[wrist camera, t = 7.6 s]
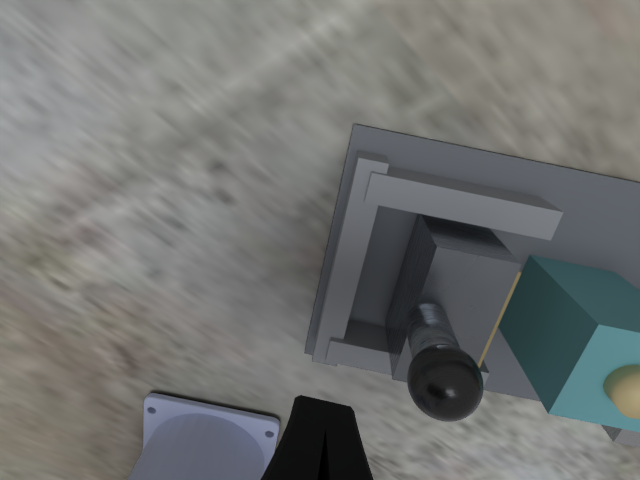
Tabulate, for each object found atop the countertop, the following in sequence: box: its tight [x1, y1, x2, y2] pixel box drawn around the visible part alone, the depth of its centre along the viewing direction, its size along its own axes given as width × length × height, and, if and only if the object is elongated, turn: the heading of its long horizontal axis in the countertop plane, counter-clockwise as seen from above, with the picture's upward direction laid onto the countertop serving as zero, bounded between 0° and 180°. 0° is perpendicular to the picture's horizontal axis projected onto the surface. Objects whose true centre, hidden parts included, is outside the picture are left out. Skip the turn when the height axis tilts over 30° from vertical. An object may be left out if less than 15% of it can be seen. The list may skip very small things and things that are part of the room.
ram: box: [385, 213, 522, 421], centre depth 15 cm, size 6×4×8 cm, turn 169°
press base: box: [304, 124, 640, 447], centre depth 18 cm, size 12×16×3 cm
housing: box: [498, 255, 640, 432], centre depth 16 cm, size 4×4×6 cm
